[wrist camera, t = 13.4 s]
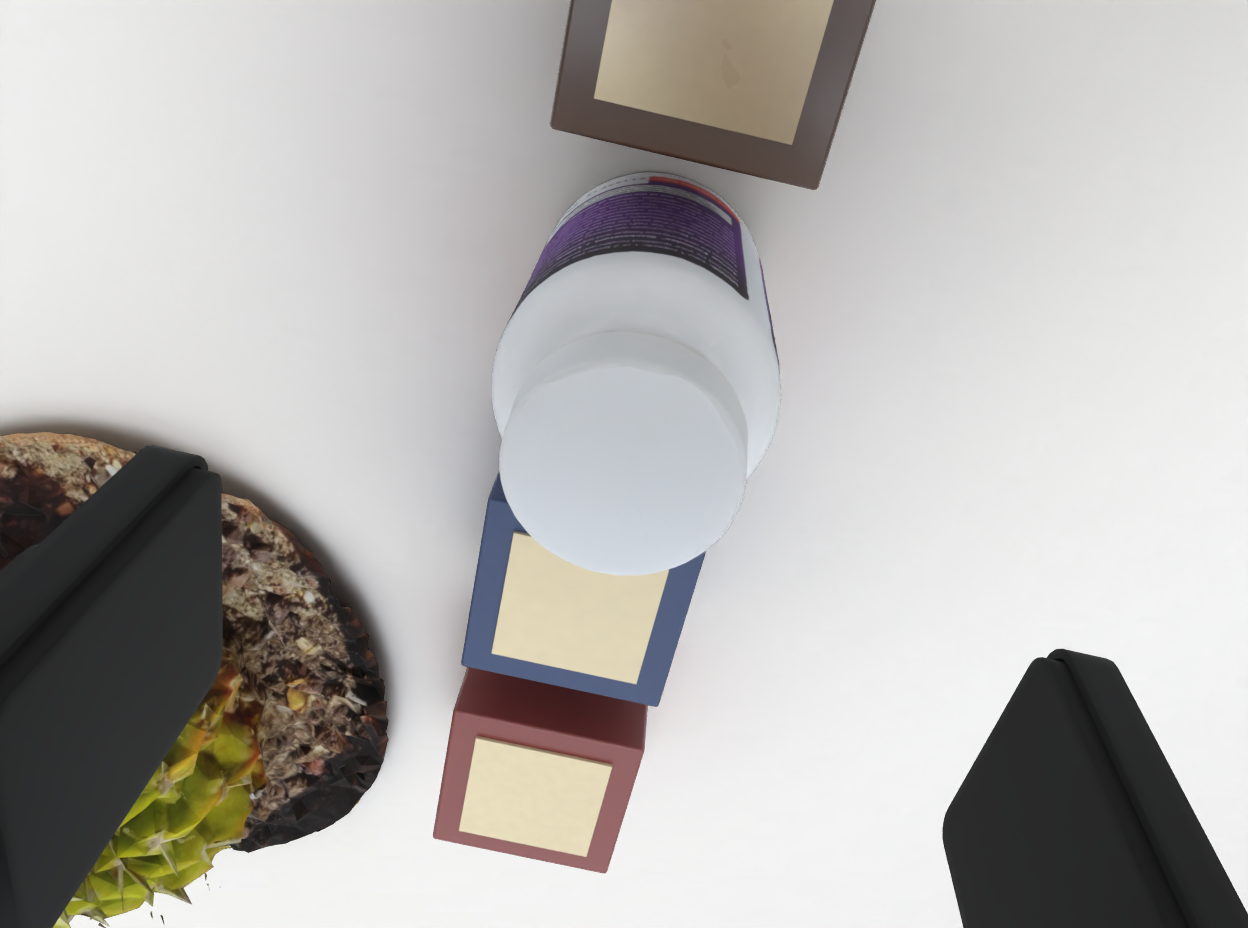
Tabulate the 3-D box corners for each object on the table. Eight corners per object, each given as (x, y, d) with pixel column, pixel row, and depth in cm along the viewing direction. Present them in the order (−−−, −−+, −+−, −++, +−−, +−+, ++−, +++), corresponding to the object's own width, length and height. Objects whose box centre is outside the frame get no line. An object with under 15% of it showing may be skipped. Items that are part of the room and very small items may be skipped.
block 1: (525, 401, 25) (487, 500, 21) (707, 442, 26) (707, 548, 21) (498, 551, 28) (459, 668, 23) (665, 588, 28) (657, 711, 24)
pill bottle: (499, 246, 23) (383, 425, 15) (686, 122, 22) (675, 243, 13) (622, 415, 25) (580, 657, 17) (802, 313, 24) (855, 526, 15)
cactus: (475, 800, 33) (395, 1101, 25) (92, 867, 36) (-95, 1151, 28) (232, 355, 25) (-6, 568, 17) (-224, 492, 29) (-613, 725, 20)
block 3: (626, -171, 19) (602, -202, 15) (867, -111, 19) (916, -125, 15) (580, 89, 22) (548, 129, 17) (795, 140, 22) (818, 193, 17)
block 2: (491, 592, 29) (452, 713, 24) (654, 627, 29) (644, 753, 24) (470, 712, 31) (431, 842, 27) (620, 744, 31) (606, 878, 27)
